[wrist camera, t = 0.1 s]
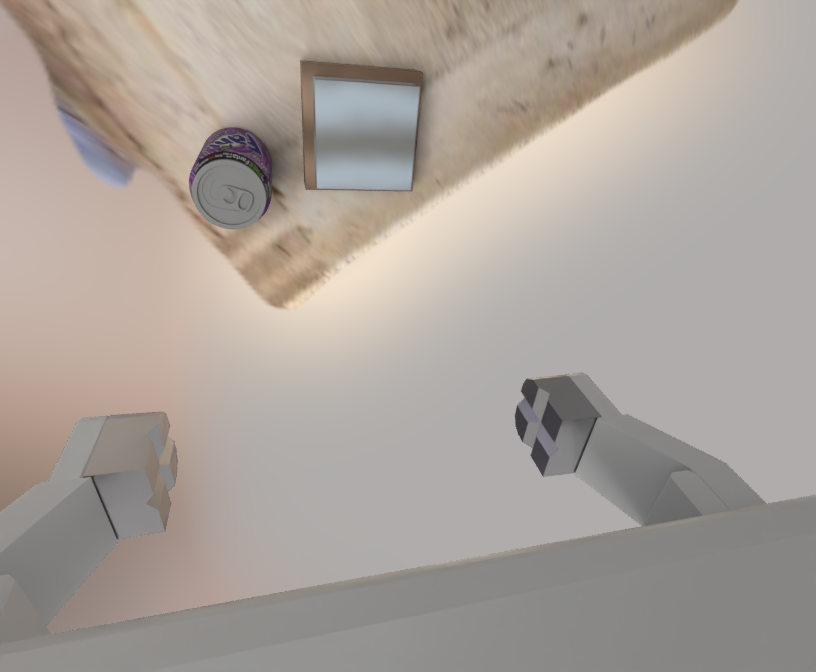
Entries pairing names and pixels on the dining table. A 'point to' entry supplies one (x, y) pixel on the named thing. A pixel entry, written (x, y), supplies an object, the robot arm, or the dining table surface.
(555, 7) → the dining table surface
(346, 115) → the stepped plinth
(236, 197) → the beverage can
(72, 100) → the dining table surface
